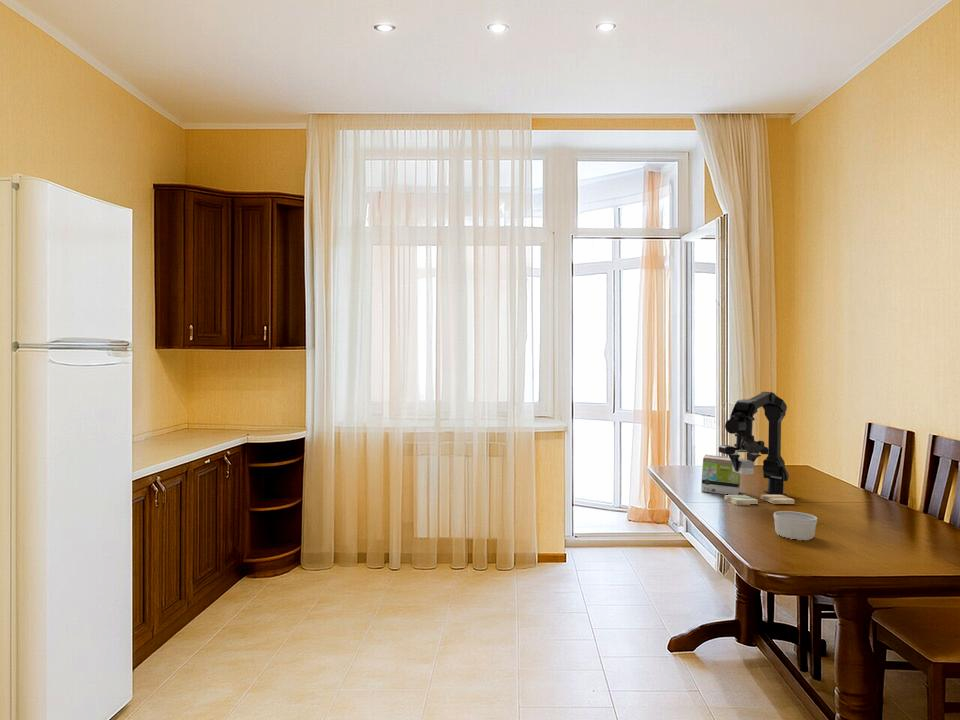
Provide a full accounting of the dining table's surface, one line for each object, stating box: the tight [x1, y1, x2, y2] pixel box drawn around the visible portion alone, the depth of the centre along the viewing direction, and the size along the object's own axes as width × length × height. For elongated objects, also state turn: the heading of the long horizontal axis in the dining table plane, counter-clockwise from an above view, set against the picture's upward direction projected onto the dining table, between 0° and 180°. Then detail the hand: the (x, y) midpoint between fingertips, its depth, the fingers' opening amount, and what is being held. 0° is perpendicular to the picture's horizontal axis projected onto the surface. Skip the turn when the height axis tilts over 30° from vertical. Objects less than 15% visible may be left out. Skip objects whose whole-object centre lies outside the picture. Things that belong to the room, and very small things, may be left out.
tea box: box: [700, 454, 742, 495], centre depth 303 cm, size 15×10×15 cm
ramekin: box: [773, 510, 818, 541], centre depth 236 cm, size 13×13×7 cm
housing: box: [732, 458, 755, 475], centre depth 284 cm, size 7×5×5 cm
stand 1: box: [724, 494, 759, 506], centre depth 284 cm, size 9×9×2 cm
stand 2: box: [760, 494, 795, 505], centre depth 287 cm, size 9×9×2 cm
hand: (742, 471), depth 284 cm, fingers closed on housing, 5 cm apart
